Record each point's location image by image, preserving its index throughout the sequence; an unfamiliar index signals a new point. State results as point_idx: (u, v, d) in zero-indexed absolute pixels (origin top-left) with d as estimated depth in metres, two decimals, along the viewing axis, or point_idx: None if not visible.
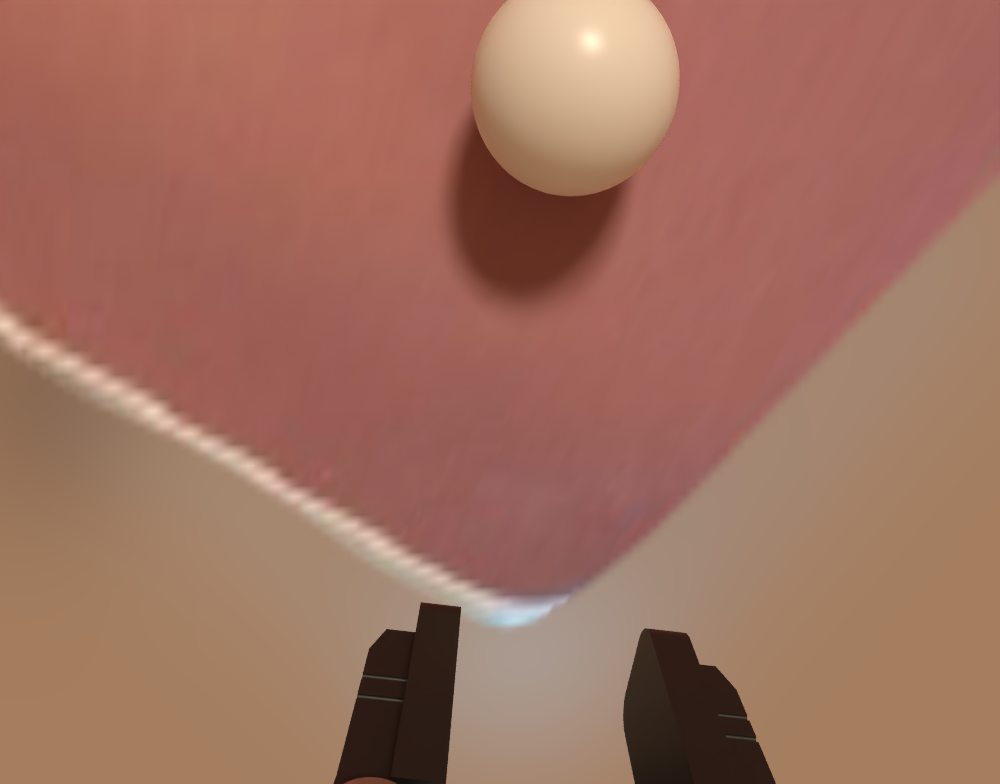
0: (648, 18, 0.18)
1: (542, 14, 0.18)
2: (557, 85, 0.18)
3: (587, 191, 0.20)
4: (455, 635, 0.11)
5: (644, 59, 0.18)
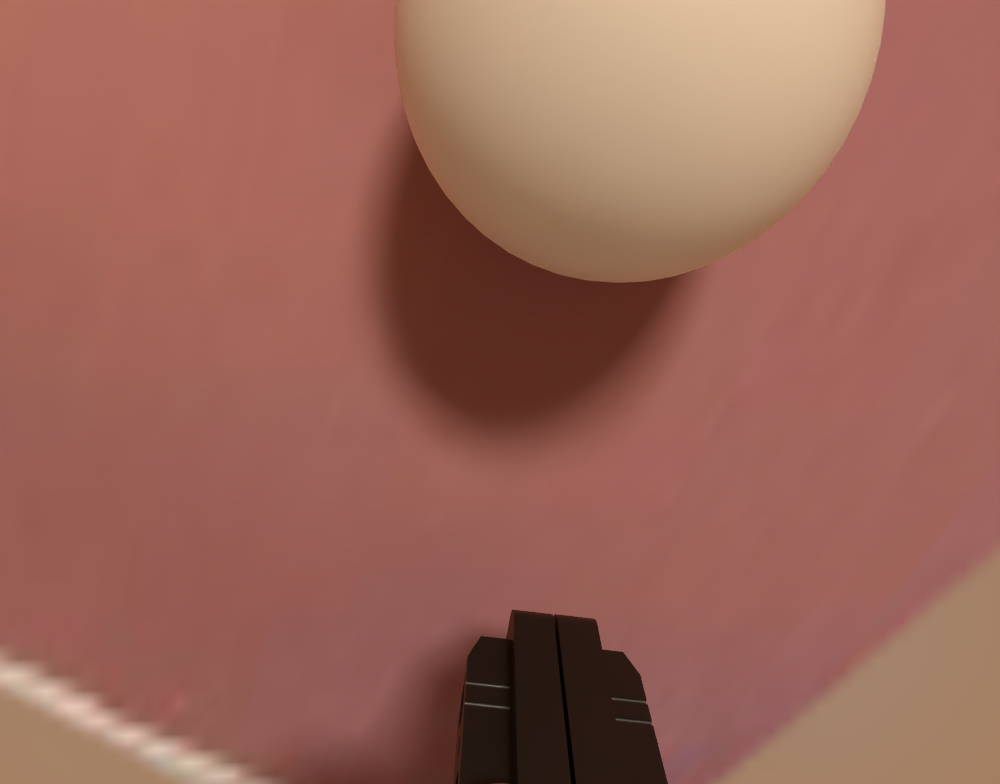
0: None
1: None
2: (608, 26, 0.06)
3: (653, 278, 0.09)
4: (553, 642, 0.11)
5: None
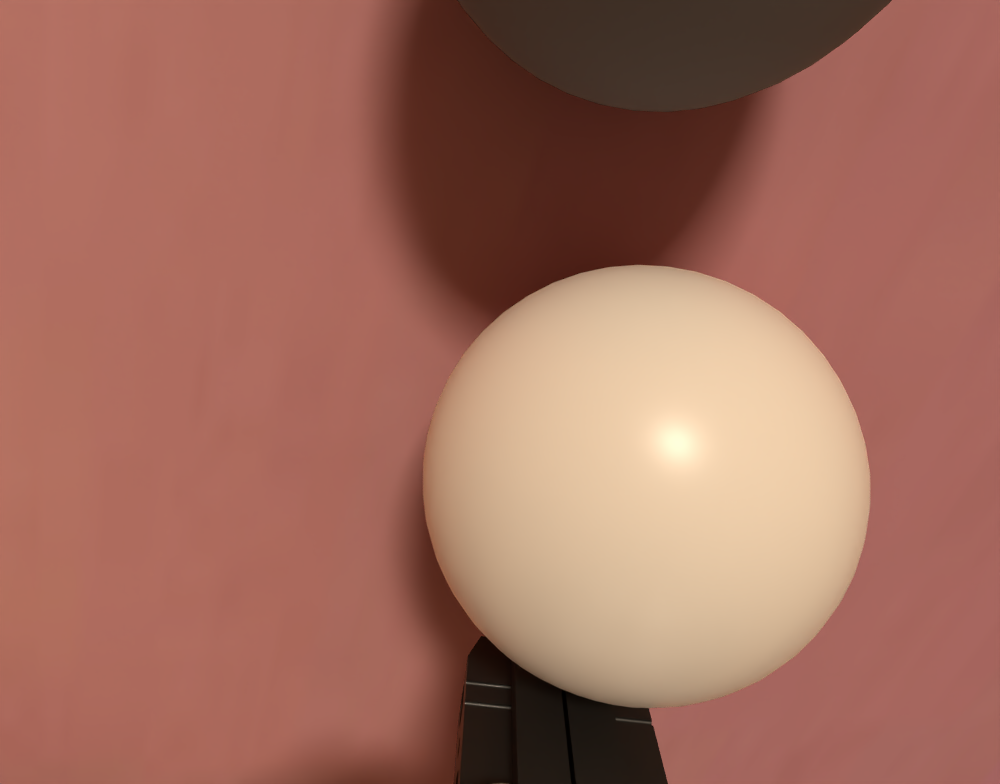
0: None
1: None
2: (654, 267, 0.09)
3: (817, 502, 0.07)
4: None
5: None
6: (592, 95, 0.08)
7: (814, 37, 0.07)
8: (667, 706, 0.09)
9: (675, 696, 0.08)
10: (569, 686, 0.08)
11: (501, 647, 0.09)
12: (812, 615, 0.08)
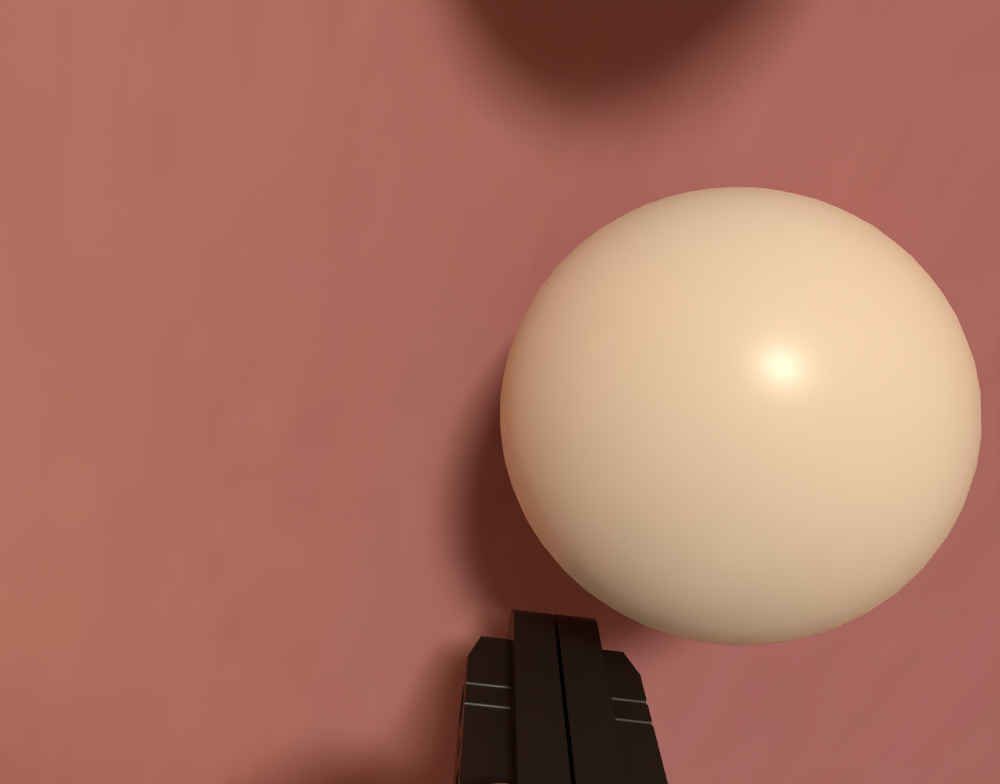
0: None
1: None
2: None
3: None
4: (553, 642, 0.11)
5: None
6: None
7: None
8: (897, 529, 0.07)
9: (907, 469, 0.07)
10: (789, 508, 0.07)
11: (688, 500, 0.07)
12: (974, 375, 0.08)
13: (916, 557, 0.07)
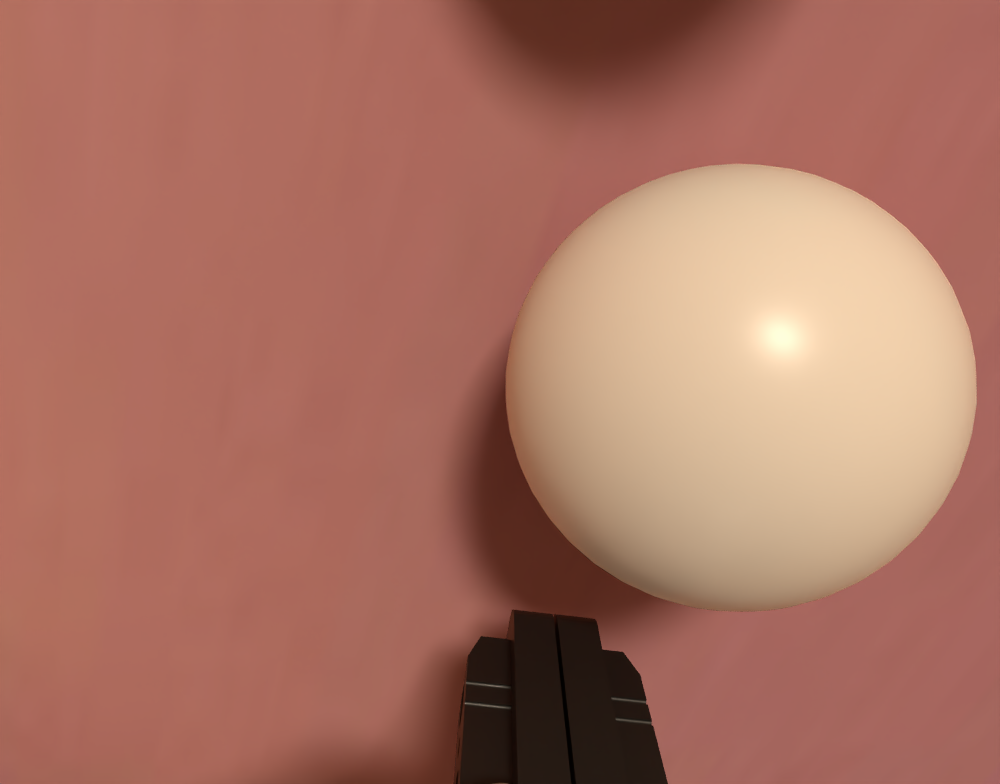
0: None
1: None
2: None
3: (915, 237, 0.08)
4: (553, 642, 0.11)
5: None
6: None
7: None
8: (893, 491, 0.07)
9: (903, 432, 0.07)
10: (787, 469, 0.07)
11: (689, 463, 0.07)
12: (968, 343, 0.08)
13: (912, 520, 0.08)
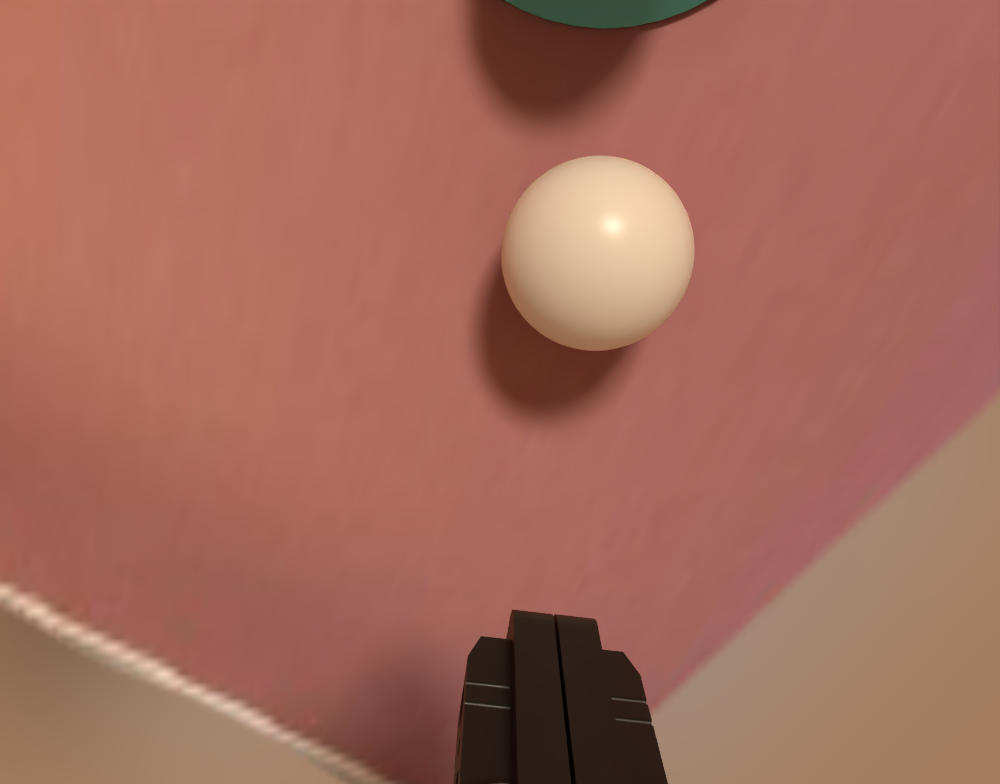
0: None
1: None
2: None
3: (667, 185, 0.20)
4: (553, 642, 0.11)
5: None
6: None
7: None
8: (644, 276, 0.19)
9: (646, 252, 0.19)
10: (603, 265, 0.19)
11: (568, 264, 0.19)
12: (682, 225, 0.20)
13: (657, 292, 0.20)
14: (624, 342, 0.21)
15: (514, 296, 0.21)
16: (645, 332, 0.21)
